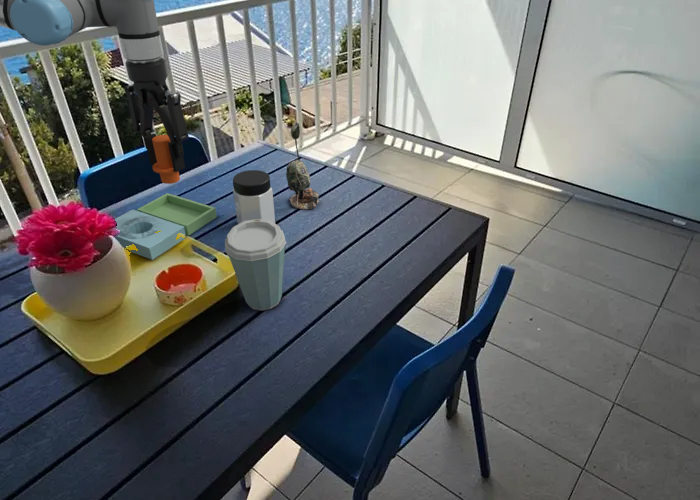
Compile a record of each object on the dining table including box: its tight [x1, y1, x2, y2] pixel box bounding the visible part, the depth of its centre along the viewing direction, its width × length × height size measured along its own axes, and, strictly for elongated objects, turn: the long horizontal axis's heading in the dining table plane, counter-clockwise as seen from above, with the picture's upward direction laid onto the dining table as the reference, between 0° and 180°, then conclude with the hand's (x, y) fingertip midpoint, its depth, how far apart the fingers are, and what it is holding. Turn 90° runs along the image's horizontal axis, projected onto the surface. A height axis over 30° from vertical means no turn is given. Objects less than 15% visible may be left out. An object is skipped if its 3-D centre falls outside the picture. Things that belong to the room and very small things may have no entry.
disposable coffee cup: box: [224, 219, 287, 312], centre depth 90 cm, size 11×11×15 cm
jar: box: [232, 169, 276, 225], centre depth 114 cm, size 9×8×12 cm
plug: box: [152, 134, 181, 185], centre depth 111 cm, size 6×6×10 cm
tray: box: [136, 192, 218, 236], centre depth 118 cm, size 16×10×3 cm, turn 62°
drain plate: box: [114, 209, 187, 261], centre depth 110 cm, size 16×10×3 cm, turn 62°
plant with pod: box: [284, 121, 320, 210], centre depth 120 cm, size 8×11×20 cm
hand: (167, 166), depth 112 cm, fingers closed on plug, 6 cm apart
